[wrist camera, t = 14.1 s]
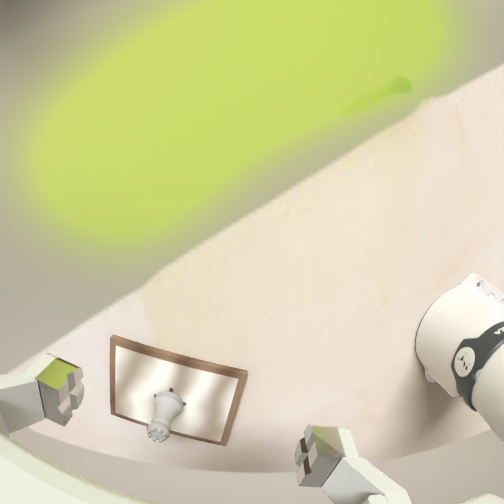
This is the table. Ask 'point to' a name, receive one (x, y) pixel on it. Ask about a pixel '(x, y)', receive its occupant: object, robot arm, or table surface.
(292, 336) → the table surface
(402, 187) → the table surface
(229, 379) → the brown-bordered mat
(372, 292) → the table surface
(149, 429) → the rook chess piece
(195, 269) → the table surface
